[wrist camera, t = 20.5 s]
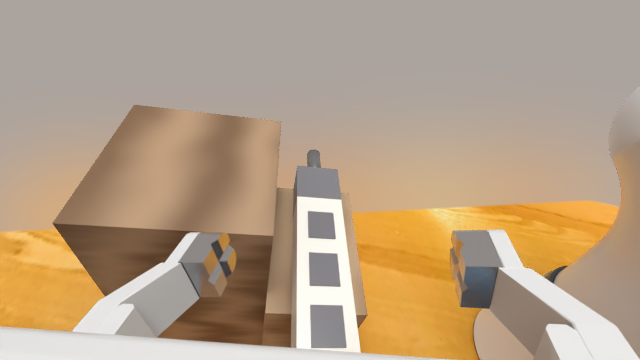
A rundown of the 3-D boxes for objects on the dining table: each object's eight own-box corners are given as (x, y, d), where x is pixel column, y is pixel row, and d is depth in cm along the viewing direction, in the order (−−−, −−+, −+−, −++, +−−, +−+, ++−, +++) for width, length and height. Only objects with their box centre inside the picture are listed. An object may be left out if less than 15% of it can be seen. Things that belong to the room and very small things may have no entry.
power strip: (328, 167, 36) (334, 142, 33) (353, 431, 19) (370, 421, 17) (293, 164, 35) (297, 138, 33) (289, 433, 19) (296, 424, 16)
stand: (320, 271, 47) (368, 131, 28) (325, 374, 37) (403, 263, 19) (180, 265, 43) (134, 104, 25) (147, 376, 34) (36, 246, 16)
